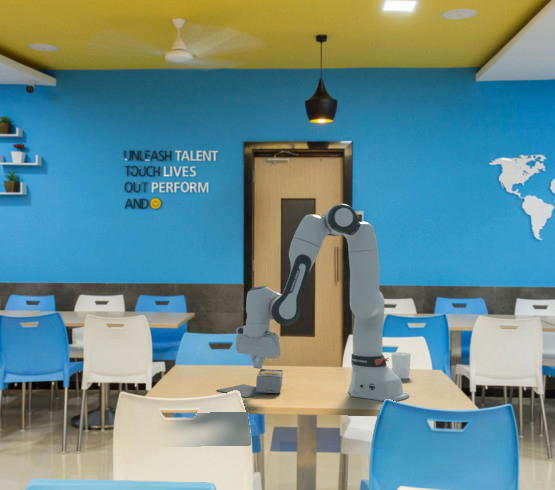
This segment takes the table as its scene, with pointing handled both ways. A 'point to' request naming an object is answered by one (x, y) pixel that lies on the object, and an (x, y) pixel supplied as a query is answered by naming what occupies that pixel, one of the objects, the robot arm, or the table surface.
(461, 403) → the table surface
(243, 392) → the rubber mat
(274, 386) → the coffee box
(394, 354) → the white cup
